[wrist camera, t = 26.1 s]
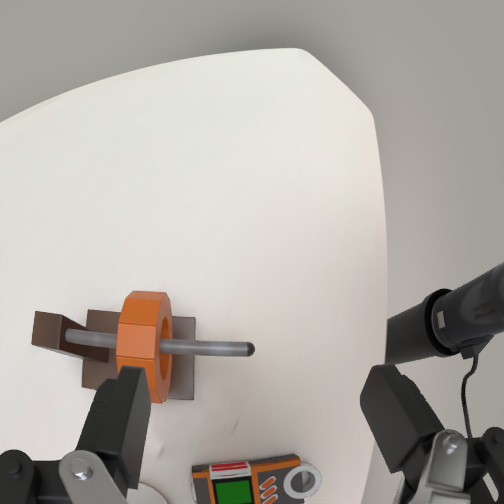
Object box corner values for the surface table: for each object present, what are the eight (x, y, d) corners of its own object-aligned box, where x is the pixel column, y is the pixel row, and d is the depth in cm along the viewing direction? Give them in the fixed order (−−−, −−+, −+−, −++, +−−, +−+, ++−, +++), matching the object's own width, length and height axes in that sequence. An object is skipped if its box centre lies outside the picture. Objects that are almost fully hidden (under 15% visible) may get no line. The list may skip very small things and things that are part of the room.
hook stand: (83, 387, 31) (23, 382, 18) (89, 310, 35) (37, 272, 23) (241, 400, 33) (258, 411, 21) (241, 320, 37) (256, 284, 25)
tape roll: (174, 307, 31) (159, 279, 23) (171, 398, 28) (153, 407, 19) (146, 306, 31) (122, 277, 22) (142, 396, 27) (114, 402, 19)
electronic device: (324, 499, 27) (196, 519, 24) (315, 492, 29) (196, 510, 26) (320, 452, 29) (188, 470, 26) (311, 448, 32) (188, 464, 29)
